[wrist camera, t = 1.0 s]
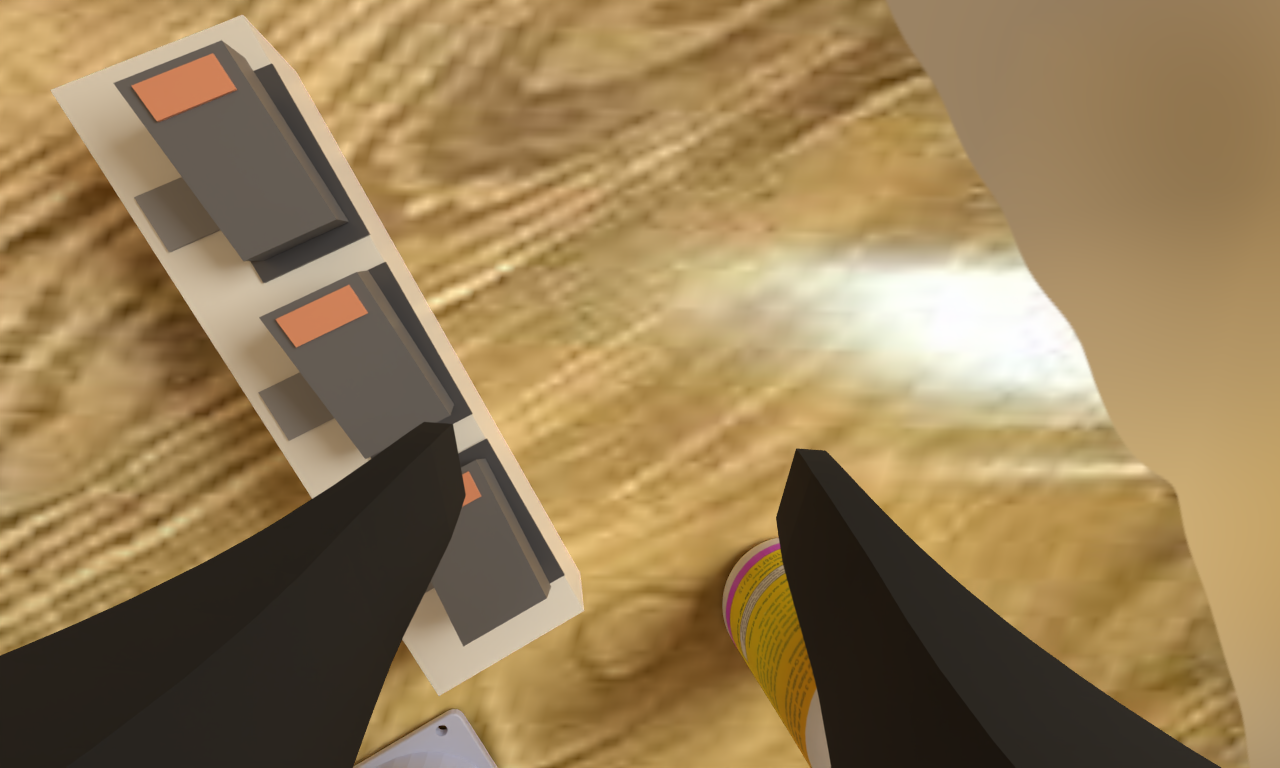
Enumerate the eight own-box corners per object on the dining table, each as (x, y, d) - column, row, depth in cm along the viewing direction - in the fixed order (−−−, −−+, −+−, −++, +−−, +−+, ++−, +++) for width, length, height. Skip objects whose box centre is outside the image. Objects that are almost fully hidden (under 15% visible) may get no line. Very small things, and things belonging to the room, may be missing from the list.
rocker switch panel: (456, 644, 23) (435, 705, 19) (139, 136, 19) (33, 81, 16) (581, 572, 24) (586, 616, 20) (297, 71, 20) (235, 4, 16)
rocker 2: (375, 444, 18) (364, 460, 17) (278, 312, 16) (257, 317, 15) (454, 403, 19) (449, 416, 17) (368, 270, 17) (355, 271, 15)
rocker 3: (474, 630, 18) (462, 647, 17) (408, 499, 19) (391, 504, 17) (551, 586, 19) (546, 599, 17) (485, 458, 19) (475, 459, 18)
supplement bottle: (703, 645, 25) (853, 947, 12) (736, 521, 25) (923, 697, 12) (819, 664, 26) (1064, 956, 14) (852, 545, 26) (1130, 729, 13)
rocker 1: (263, 260, 17) (241, 261, 16) (146, 97, 15) (110, 82, 14) (348, 221, 18) (335, 219, 16) (245, 57, 16) (219, 39, 14)
